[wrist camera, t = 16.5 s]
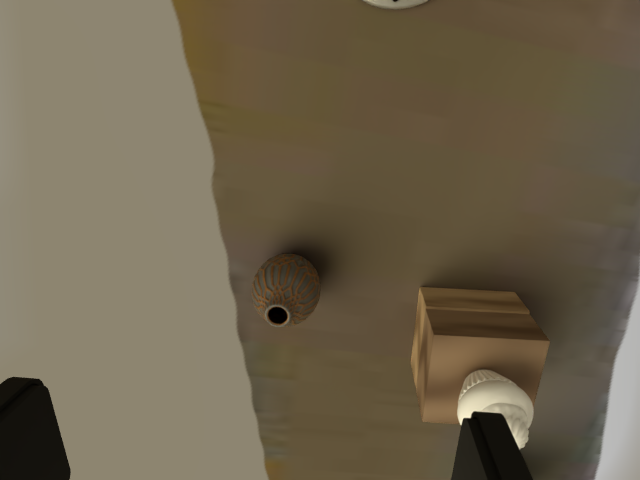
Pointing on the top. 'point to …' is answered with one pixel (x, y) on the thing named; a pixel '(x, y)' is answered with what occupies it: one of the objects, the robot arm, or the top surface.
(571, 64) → the top surface
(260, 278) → the vase
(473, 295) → the tower base
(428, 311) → the tower top
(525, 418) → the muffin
